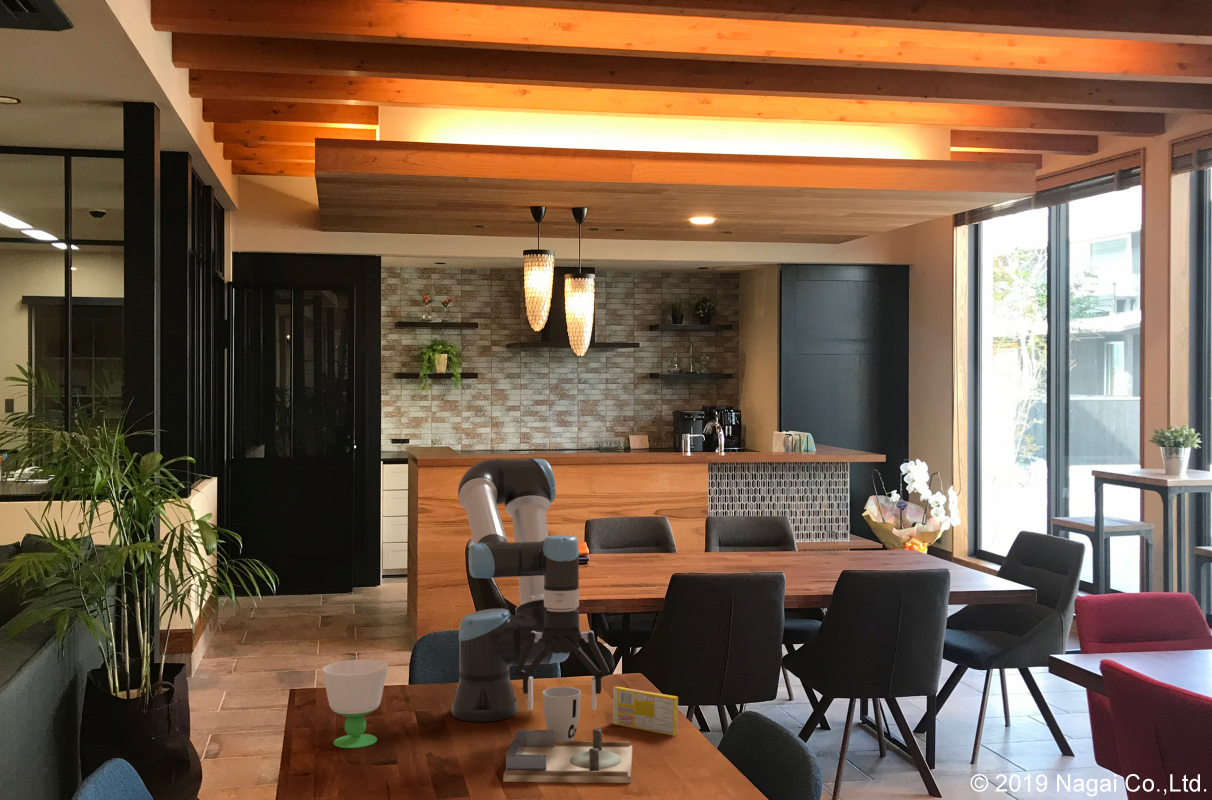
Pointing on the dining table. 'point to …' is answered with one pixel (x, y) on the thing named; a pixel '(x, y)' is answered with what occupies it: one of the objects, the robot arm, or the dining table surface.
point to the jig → (579, 762)
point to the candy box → (645, 710)
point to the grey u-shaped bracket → (529, 740)
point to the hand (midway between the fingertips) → (562, 709)
